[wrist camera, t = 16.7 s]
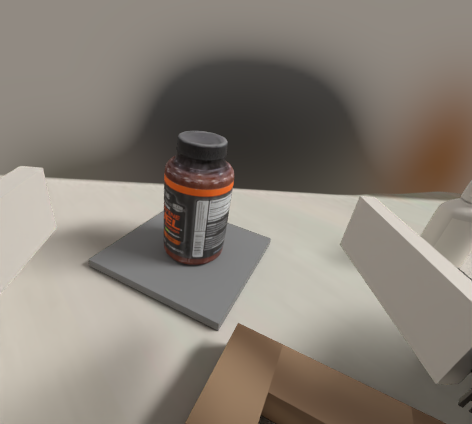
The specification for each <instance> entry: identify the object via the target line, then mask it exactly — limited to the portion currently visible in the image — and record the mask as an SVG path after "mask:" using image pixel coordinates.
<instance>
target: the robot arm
mask: <svg viewBox="0 0 472 424" xmlns="http://www.w3.org/2000/svg"><path fill="white" fill-rule="evenodd" d="M56 229H57V226H56V222H55V218H54V214H53V209H52V205H51V201H50V197H49V192H48V188H47V184H46V180H45V176H44V172H43V168H37V167H26V166H19V167H18V168H16V169H15V170H13V171H11V172H10V173H8V174H6V175H5V176H3V177H2V178H0V294H1V293H2V292H3V291H4V290H5V289H6V287H7V286H8V285H9V284H10V283H11V281H12V280H13V279H14V278H15V277H16V276H17V274H18V273H19V272H20V271H21V270H22V269H23V267H24V266H25V265H26V264H27V263H28V261H29V260H30V259H31V258H32V257H33V256H34V254H35V253H36V252H37V251H38V250H39V249H40V247H41V246H42V245H43V244H44V243H45V241H46V240H47V239H48V238H49V237H50V236H51V234H52V233H53V232H54V231H55V230H56ZM340 245H341V247H342V248H343V250H344V251H345V253H346V254H347V256H348V257H349V258H350V260H351V261H352V263H353V264H354V266H355V267H356V269H357V270H358V272H359V273H360V274H361V276H362V277H363V279H364V280H365V282H366V283H367V285H368V286H369V288H370V289H371V290H372V292H373V293H374V295H375V296H376V298H377V299H378V301H379V302H380V304H381V305H382V306H383V308H384V309H385V311H386V312H387V314H388V315H389V317H390V318H391V320H392V321H393V322H394V324H395V325H396V327H397V328H398V330H399V331H400V333H401V334H402V336H403V337H404V338H405V340H406V341H407V343H408V344H409V346H410V347H411V349H412V350H413V352H414V353H415V355H416V356H417V357H418V359H419V360H420V362H421V363H422V365H423V366H424V368H425V369H426V371H427V372H428V373H429V375H430V376H431V378H432V379H433V381H434V382H435V384H459V383H460V382H461V381H462V380H463V379H464V378H465V377H466V376H467V375H468V374H469V373H470V372H472V279H471V278H469V277H468V276H467V275H466V274H465V273H464V272H462V271H461V270H460V269H459V268H457V267H455V266H454V265H453V264H452V263H451V262H449V261H448V260H447V259H446V258H445V257H444V256H442V255H441V254H440V253H439V252H438V251H437V250H436V249H434V248H433V247H432V246H431V245H430V244H429V243H427V242H426V241H425V240H424V239H423V238H422V237H421V236H419V235H418V234H417V233H416V232H415V231H414V230H413V229H411V228H410V227H409V226H408V225H407V224H406V223H404V222H403V221H402V220H401V219H400V218H399V217H398V216H396V215H395V214H394V213H393V212H392V211H391V210H389V209H388V208H387V207H386V206H385V205H384V204H383V203H381V202H380V201H379V200H378V199H377V198H376V197H366V196H360V197H359V200H358V202H357V205H356V207H355V209H354V212H353V214H352V217H351V219H350V221H349V224H348V226H347V229H346V231H345V233H344V236H343V238H342V241H341V243H340ZM470 401H472V388H471V389H470V390H469V391H468V392H467V393H466V394H465V395H464V396H463V397H461V398H460V399H459V403H458V405H459V406H461V407H462V408H463V407H464V406H465V405H466V404H467V403H468V402H470ZM469 412H471V413H472V408H471V409H470V410H469Z"/></svg>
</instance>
